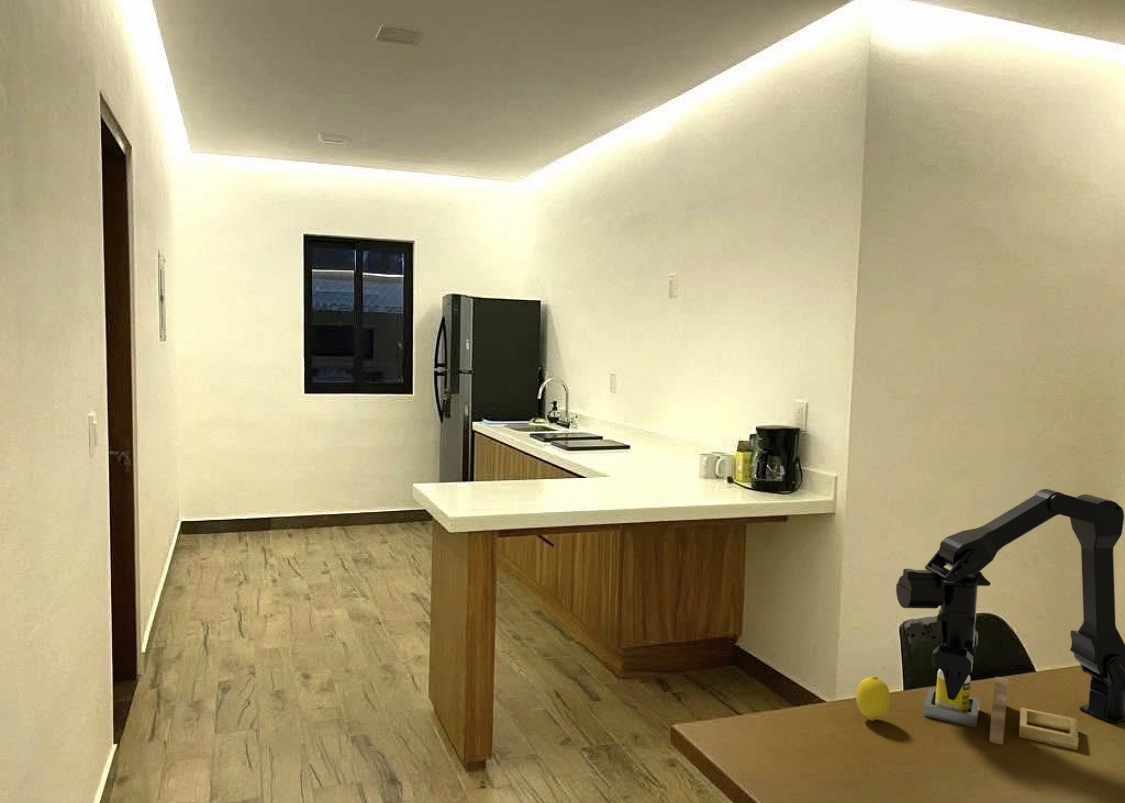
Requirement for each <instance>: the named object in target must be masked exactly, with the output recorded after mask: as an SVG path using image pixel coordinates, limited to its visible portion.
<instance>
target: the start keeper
mask: <svg viewBox="0 0 1125 803" xmlns="http://www.w3.org/2000/svg"><path fill="white" fill-rule="evenodd" d="M980 700H981V699H980V698H978V697H974V696H973V697H972V696H969V706H968V712H965V711H960V710H956V709H951V708H946V707H942V706H937V705H935V704H934V703H935V701H936V689H934V688H928V690H927V693H926V697H925V700H924V702H923V709H922V710H923V711H922V712H923V713H922V714H923V715H922V716H923V717H927V718H932V719H937V720H940V721H945V722H950V723H953V724H960V725H963V726H967V727H972V728H977V725H978V717H979V712H980ZM969 710H970V712H969Z"/></svg>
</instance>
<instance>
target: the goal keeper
mask: <svg viewBox="0 0 1125 803" xmlns="http://www.w3.org/2000/svg"><path fill="white" fill-rule="evenodd" d="M1028 723H1030V724H1035V725H1039V726H1033V725H1029V724H1028ZM1040 726H1043V727H1040ZM1018 727H1019V729H1018V731H1019V732H1018V737H1019V738H1022V739H1026V740H1031V741H1035V742H1041V743H1044V744H1047V745H1048V744H1049V745H1052V746H1057V747H1062V748H1066V749H1071V750H1075V751H1078V748H1079V730H1078V721H1077V718H1075V717H1074V718H1073V717H1068V716H1064V715H1060V714H1055V713H1054V714H1053V713H1050V712H1045V711H1040V710H1035V709H1029V708H1026V707H1020V711H1019V726H1018ZM1044 727H1049V728H1054V729H1059V730H1063V731H1068V733H1067V732H1062V731H1057V730H1053V729H1047V728H1044Z"/></svg>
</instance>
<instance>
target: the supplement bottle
mask: <svg viewBox="0 0 1125 803" xmlns="http://www.w3.org/2000/svg"><path fill="white" fill-rule="evenodd" d="M936 676H937V678H936V689H935V690H936V701H935V702H934V703H935V704H934V705H937V706H942V707H946V708H951V709H956V710H960V711H965V712H969V709H968V706H969V697H970V692H971V691H970V689H971V676H970V674H969V676H968V677H967V679H966V681H965V683H964V684H963V686H962V688H961V690H960V691H959V693H958V695H957V697H956V699H955V700H951V699H948V696H947V691H946V685H945V680H944V675H943V672H942V670H941V669H940V668H938V671H937V675H936Z"/></svg>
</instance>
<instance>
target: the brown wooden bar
mask: <svg viewBox="0 0 1125 803" xmlns="http://www.w3.org/2000/svg"><path fill="white" fill-rule="evenodd" d="M1008 687H1009V679H1008V678H1005V677H1000V676H995V682H994V690H993V697H992V706H991V715H990V728H989V743H993V744H998V745H1001V746H1003V745H1004V736H1005V728H1006V726H1005V725H1006V713H1007V704H1008V703H1007V701H1008Z"/></svg>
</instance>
